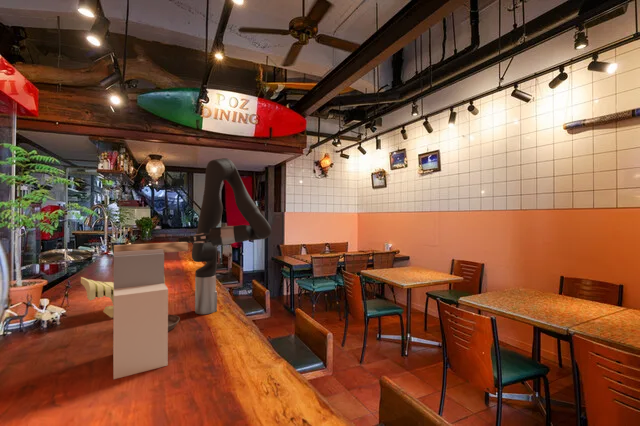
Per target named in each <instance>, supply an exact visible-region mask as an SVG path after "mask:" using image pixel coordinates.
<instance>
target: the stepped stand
mask: <svg viewBox="0 0 640 426" xmlns="http://www.w3.org/2000/svg"><path fill="white" fill-rule="evenodd" d="M164 276H165V252H163V249H157V250H140V251H122V252H114V251H113V283H114V309H113V318H112V319H113V320H112V321H113V323H112V324H113V331H112V332H113V336H112V337H113V338H112V339H113V340H112V341H113V342H112V345H113V346H112V348H113V350H112V351H113V352H112V354H113V356H112V357H113V360H112V361H113V365H112V368H113V380H116V379H117V380H118V379H120V378H123V377H124V378H125V377H129V376H132V375H136V374H140V373H143V372H144V373H145V372H147V371H151V370H155V369H160V368H163V367H166V366H169V365H168V364H169V363H168V361H169V360H168V359H169V358H168V357H169V356H168V355H169V354H168V353H169V351H168V350H169V349H168V348H169V347H168V346H169V342H168V341H169V331H168V315H169V288H168V286H167V285H166V283H165V284H164Z"/></svg>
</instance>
